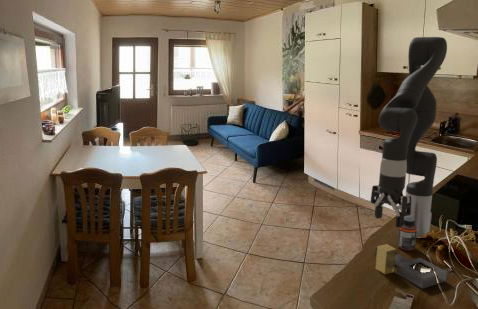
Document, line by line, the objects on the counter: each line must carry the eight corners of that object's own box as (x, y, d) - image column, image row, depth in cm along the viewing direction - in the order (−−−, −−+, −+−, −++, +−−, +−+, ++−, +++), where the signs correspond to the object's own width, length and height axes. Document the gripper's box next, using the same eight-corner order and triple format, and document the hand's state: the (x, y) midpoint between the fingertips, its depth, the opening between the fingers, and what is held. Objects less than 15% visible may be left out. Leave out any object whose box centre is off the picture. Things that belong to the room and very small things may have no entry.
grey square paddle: (390, 250, 142) (391, 242, 141) (445, 281, 122) (446, 271, 121) (368, 256, 138) (369, 247, 137) (422, 288, 118) (423, 278, 117)
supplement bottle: (400, 242, 148) (403, 214, 146) (416, 247, 145) (420, 218, 142) (394, 248, 144) (397, 219, 141) (412, 253, 140) (415, 223, 138)
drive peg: (384, 266, 131) (386, 243, 129) (393, 271, 128) (396, 249, 126) (375, 268, 129) (377, 246, 128) (384, 274, 126) (386, 251, 124)
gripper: (420, 177, 116) (415, 228, 120) (384, 166, 129) (380, 213, 133) (401, 179, 113) (396, 232, 117) (367, 168, 126) (363, 216, 130)
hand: (388, 222), depth 125 cm, fingers open, 8 cm apart
